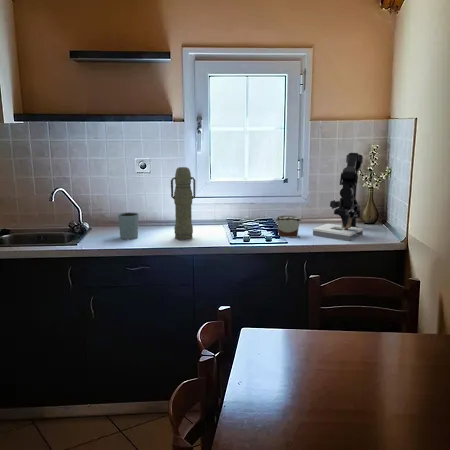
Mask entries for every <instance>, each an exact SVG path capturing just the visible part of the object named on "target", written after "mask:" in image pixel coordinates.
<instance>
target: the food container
mask: <svg viewBox="0 0 450 450" xmlns="http://www.w3.org/2000/svg"><path fill="white" fill-rule="evenodd" d="M300 222H302V220H301V217H300V216H297V215H293V214H292V215H290V214H287V215H285V214H284V215H279V216H278V215H277V217H276V223H277V232H278V233H277V234H278V237H279V236H281V237H283V238H284V237H286V238H298V237H299V236H298V234H299V228H300Z"/></svg>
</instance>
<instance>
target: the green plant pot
mask: <svg viewBox="0 0 450 450" xmlns="http://www.w3.org/2000/svg"><path fill="white" fill-rule="evenodd" d="M139 215H140V214H139V213H138V212H121V213H118V214H117V218H118V227H119V236H120V237H119V238H120V239H121V240H125V241H126V240H128V241H130V240H133V241H134V240H137V239H138V238H139Z"/></svg>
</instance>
